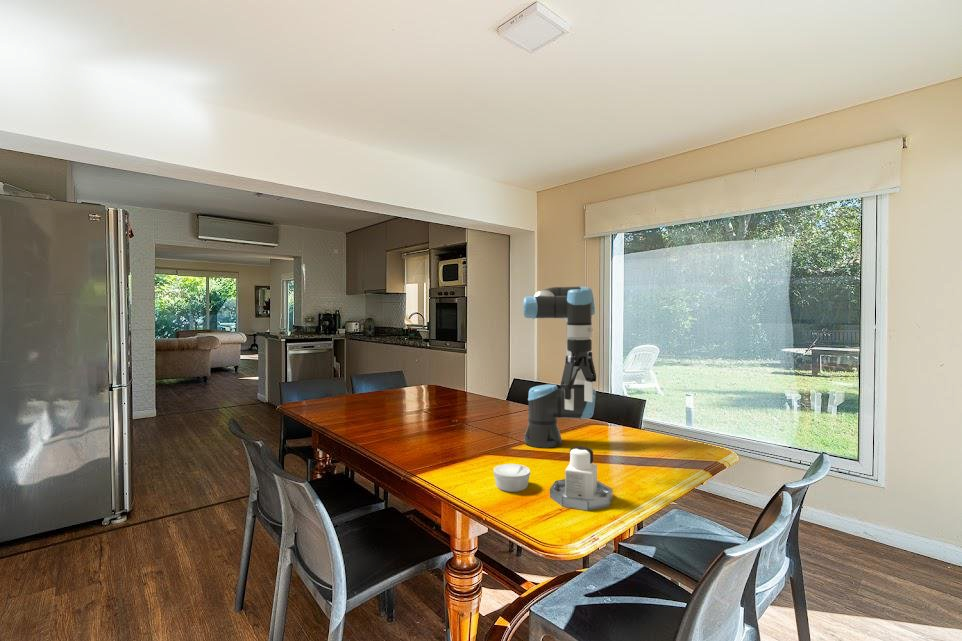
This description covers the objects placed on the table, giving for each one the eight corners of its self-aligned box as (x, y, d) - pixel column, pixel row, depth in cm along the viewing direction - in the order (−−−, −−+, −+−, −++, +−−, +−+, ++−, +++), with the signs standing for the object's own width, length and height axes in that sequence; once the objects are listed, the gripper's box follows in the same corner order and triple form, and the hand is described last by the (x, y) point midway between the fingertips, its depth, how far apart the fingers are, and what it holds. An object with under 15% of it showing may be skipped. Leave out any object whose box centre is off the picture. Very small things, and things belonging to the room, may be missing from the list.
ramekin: (536, 491, 134) (536, 473, 134) (500, 496, 131) (500, 477, 131) (522, 478, 145) (522, 462, 145) (488, 482, 142) (488, 465, 142)
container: (570, 486, 135) (570, 443, 135) (597, 490, 132) (597, 446, 132) (564, 496, 128) (564, 450, 128) (592, 500, 125) (592, 453, 125)
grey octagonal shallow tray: (545, 503, 125) (545, 494, 125) (559, 483, 141) (559, 475, 141) (606, 513, 119) (606, 504, 119) (614, 491, 134) (614, 483, 134)
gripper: (571, 342, 130) (571, 415, 131) (606, 336, 150) (606, 399, 151) (548, 341, 135) (549, 411, 136) (585, 335, 154) (585, 396, 155)
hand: (579, 405), depth 143 cm, fingers open, 13 cm apart
